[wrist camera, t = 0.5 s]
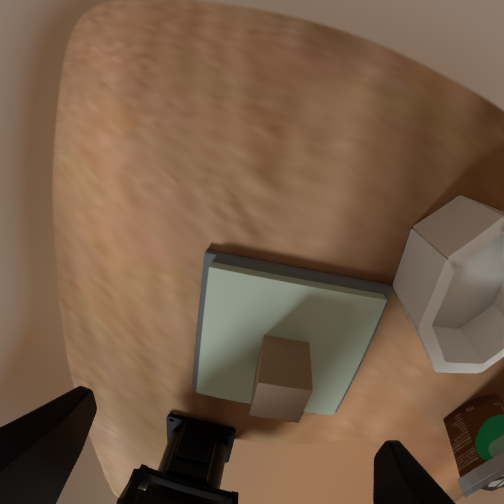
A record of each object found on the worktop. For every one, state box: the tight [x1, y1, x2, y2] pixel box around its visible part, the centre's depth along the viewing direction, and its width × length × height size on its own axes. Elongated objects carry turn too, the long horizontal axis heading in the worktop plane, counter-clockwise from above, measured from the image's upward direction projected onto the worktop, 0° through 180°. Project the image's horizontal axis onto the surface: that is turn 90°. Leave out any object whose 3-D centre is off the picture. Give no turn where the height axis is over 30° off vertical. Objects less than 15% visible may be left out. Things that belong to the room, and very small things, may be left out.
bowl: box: [392, 195, 504, 373], centre depth 16 cm, size 10×10×5 cm
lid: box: [196, 262, 387, 423], centre depth 19 cm, size 11×11×5 cm
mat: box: [192, 250, 393, 412], centre depth 21 cm, size 12×12×1 cm
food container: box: [443, 395, 504, 497], centre depth 18 cm, size 12×6×10 cm, turn 62°
